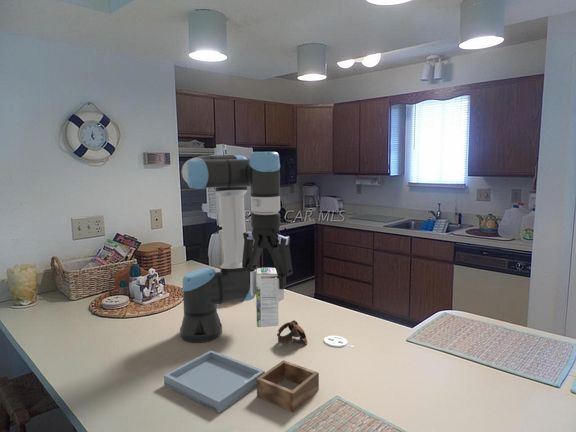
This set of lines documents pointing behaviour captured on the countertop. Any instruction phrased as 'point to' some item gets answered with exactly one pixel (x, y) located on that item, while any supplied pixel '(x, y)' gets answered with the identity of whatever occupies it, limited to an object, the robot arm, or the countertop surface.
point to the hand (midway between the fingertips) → (267, 297)
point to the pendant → (336, 341)
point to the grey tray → (213, 380)
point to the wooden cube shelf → (282, 395)
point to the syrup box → (266, 297)
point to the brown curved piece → (295, 332)
